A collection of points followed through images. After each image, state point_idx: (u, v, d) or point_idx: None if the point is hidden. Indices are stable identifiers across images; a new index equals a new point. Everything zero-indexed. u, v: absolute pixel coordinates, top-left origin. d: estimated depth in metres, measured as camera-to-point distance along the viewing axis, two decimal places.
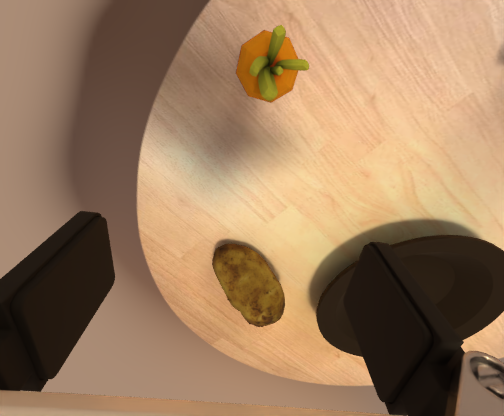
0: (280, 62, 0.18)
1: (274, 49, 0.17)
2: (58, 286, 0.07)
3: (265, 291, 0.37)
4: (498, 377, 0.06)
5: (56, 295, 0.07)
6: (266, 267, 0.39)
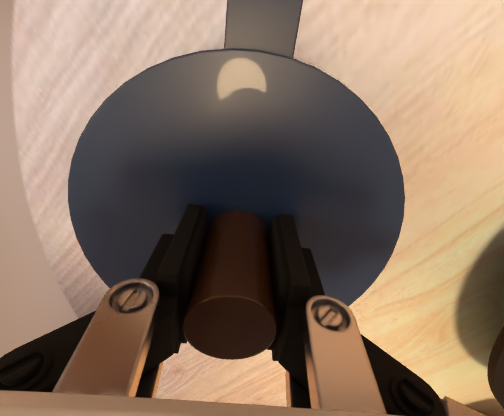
0: None
1: None
2: (194, 265, 0.08)
3: None
4: (331, 310, 0.07)
5: (193, 272, 0.08)
6: None
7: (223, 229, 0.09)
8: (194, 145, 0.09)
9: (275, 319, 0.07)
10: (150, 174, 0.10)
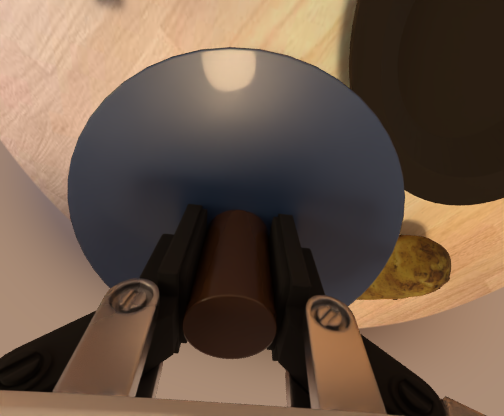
0: None
1: None
2: (194, 265, 0.08)
3: (392, 268, 0.30)
4: (330, 311, 0.07)
5: (193, 272, 0.08)
6: None
7: (223, 228, 0.09)
8: (194, 144, 0.09)
9: (275, 318, 0.07)
10: (150, 173, 0.10)
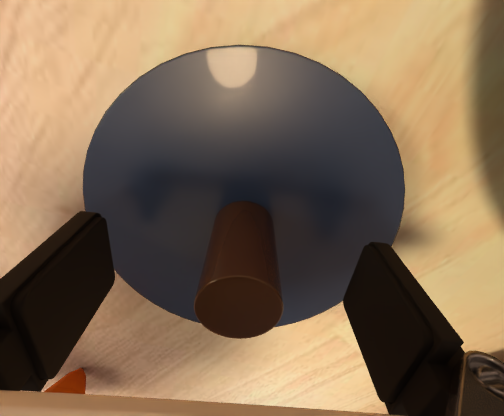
0: None
1: None
2: (58, 286, 0.07)
3: None
4: (498, 377, 0.06)
5: (56, 295, 0.07)
6: None
7: (231, 217, 0.10)
8: (204, 137, 0.10)
9: (281, 299, 0.08)
10: (161, 165, 0.10)
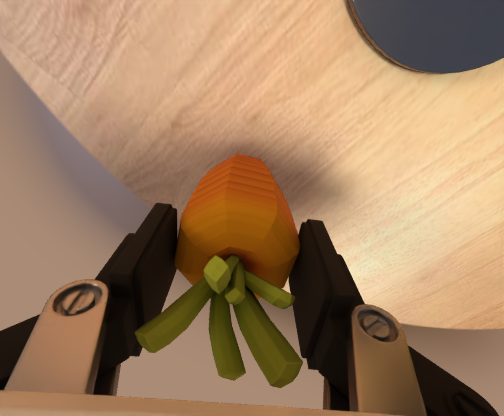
0: None
1: None
2: (155, 265, 0.08)
3: None
4: (378, 322, 0.07)
5: (154, 273, 0.08)
6: None
7: None
8: None
9: None
10: None
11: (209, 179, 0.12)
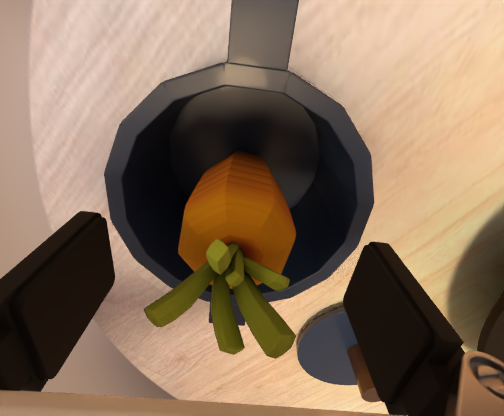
0: None
1: None
2: (58, 286, 0.07)
3: None
4: (498, 377, 0.06)
5: (56, 295, 0.07)
6: None
7: (361, 355, 0.28)
8: None
9: None
10: (334, 334, 0.28)
11: (210, 174, 0.13)
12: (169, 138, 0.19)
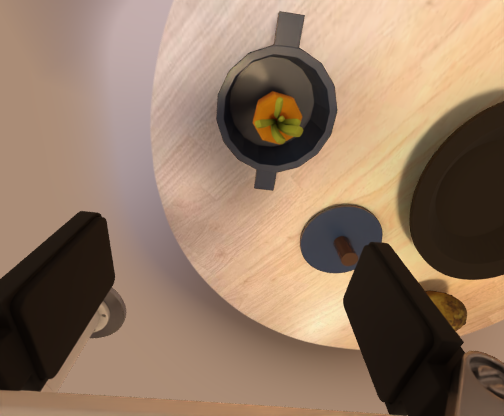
0: (276, 116, 0.24)
1: (268, 125, 0.23)
2: (58, 286, 0.07)
3: None
4: (498, 377, 0.06)
5: (56, 295, 0.07)
6: None
7: (342, 241, 0.43)
8: (336, 222, 0.43)
9: (358, 257, 0.41)
10: (324, 228, 0.44)
11: (263, 97, 0.28)
12: (230, 91, 0.34)
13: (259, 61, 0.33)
